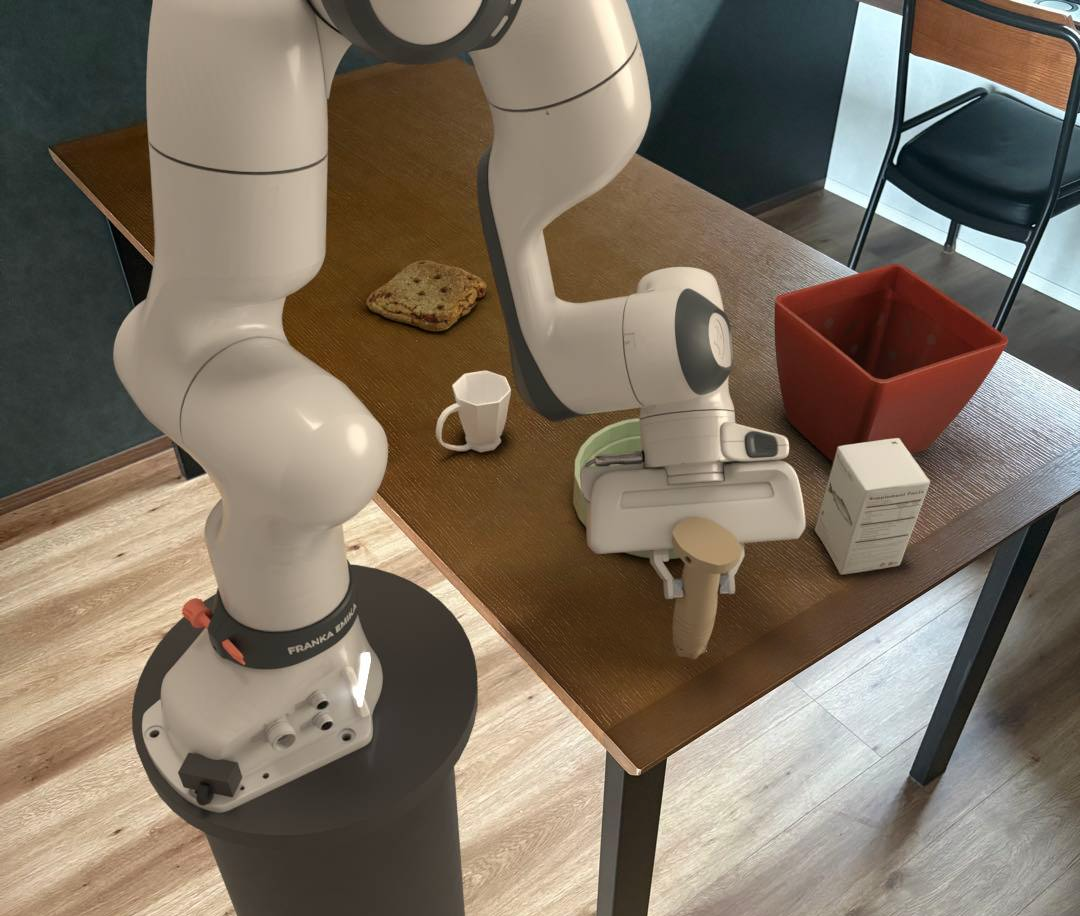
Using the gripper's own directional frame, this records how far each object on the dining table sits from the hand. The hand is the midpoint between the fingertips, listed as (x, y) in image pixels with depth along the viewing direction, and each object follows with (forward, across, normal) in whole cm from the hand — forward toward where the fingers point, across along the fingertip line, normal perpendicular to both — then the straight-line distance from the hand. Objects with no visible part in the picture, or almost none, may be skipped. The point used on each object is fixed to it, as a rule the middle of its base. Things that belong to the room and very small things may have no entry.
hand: (700, 596), depth 100 cm
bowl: (-10, +2, +24) cm, 26 cm away
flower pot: (-16, +29, +31) cm, 46 cm away
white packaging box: (-3, +22, +17) cm, 28 cm away
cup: (-18, -19, +33) cm, 42 cm away
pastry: (-42, -23, +56) cm, 74 cm away
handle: (+6, 0, +6) cm, 9 cm away
